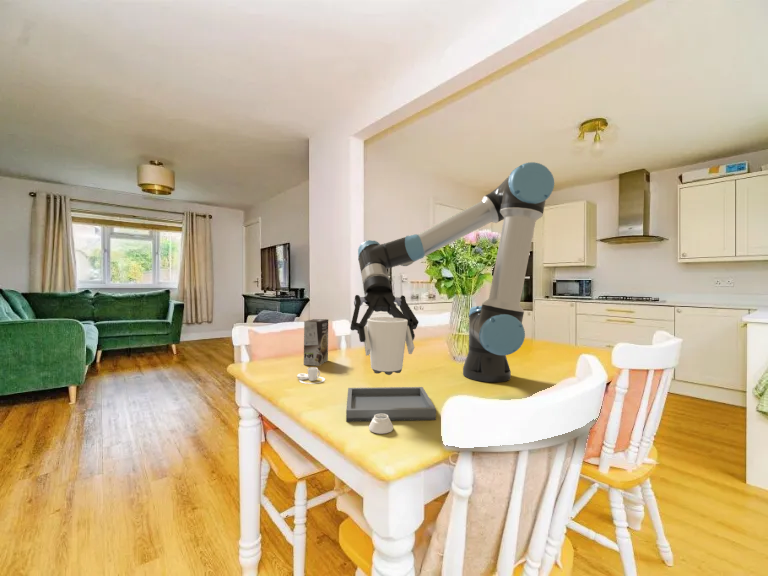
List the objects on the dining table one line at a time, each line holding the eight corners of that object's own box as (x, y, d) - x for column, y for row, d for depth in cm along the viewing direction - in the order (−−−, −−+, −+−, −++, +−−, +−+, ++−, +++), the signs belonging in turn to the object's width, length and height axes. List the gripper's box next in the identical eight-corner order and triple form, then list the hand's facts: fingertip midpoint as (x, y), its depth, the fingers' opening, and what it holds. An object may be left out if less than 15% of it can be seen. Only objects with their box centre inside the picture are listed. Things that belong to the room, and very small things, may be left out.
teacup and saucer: (293, 380, 108) (293, 367, 108) (315, 375, 113) (315, 363, 113) (307, 387, 101) (307, 373, 101) (330, 382, 107) (330, 368, 107)
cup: (415, 372, 84) (416, 320, 83) (383, 379, 77) (384, 322, 77) (389, 364, 91) (390, 316, 91) (358, 369, 85) (359, 318, 85)
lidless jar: (397, 431, 72) (383, 423, 76) (398, 417, 71) (383, 410, 75) (378, 437, 68) (364, 429, 72) (378, 423, 68) (364, 415, 72)
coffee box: (319, 366, 124) (320, 321, 124) (303, 365, 126) (303, 321, 125) (328, 360, 133) (329, 318, 133) (313, 359, 135) (313, 318, 134)
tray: (422, 396, 93) (422, 386, 93) (435, 419, 77) (436, 408, 77) (348, 397, 92) (348, 387, 92) (346, 421, 76) (346, 410, 76)
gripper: (411, 293, 102) (430, 358, 87) (334, 292, 96) (341, 362, 81) (417, 275, 96) (439, 341, 81) (337, 273, 91) (344, 343, 76)
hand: (390, 351), depth 81 cm, fingers closed on cup, 10 cm apart
